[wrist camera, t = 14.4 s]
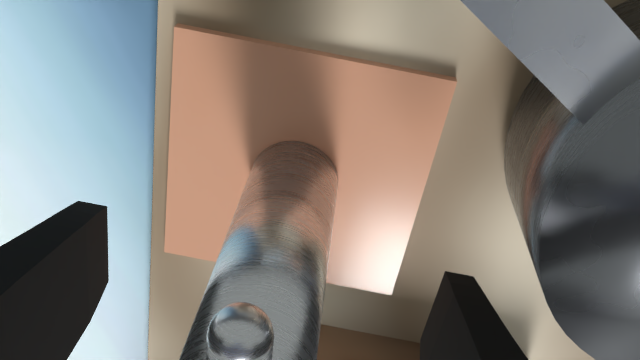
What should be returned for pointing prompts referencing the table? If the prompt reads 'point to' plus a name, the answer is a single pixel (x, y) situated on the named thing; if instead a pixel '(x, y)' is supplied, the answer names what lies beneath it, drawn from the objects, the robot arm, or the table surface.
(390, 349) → the socket block
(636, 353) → the grey cylinder with handle
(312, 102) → the tile
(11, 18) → the table surface
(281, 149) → the key peg
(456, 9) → the board
